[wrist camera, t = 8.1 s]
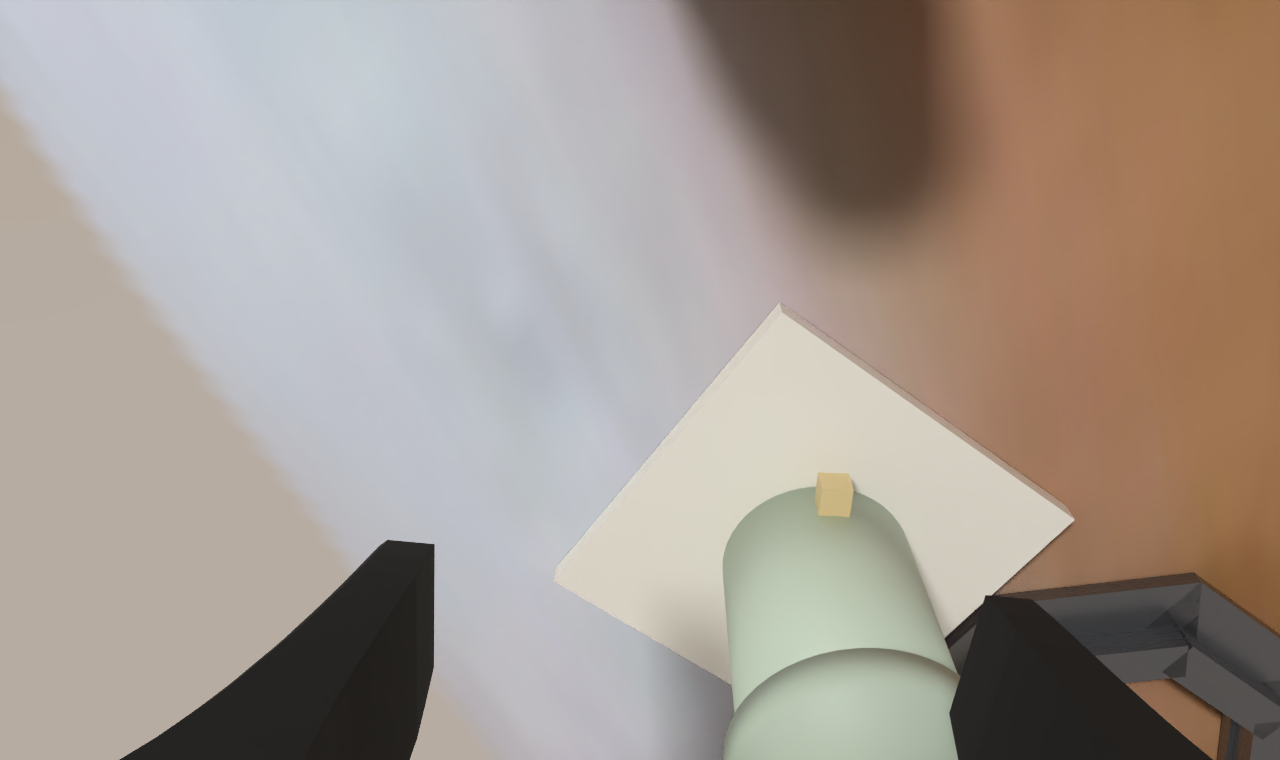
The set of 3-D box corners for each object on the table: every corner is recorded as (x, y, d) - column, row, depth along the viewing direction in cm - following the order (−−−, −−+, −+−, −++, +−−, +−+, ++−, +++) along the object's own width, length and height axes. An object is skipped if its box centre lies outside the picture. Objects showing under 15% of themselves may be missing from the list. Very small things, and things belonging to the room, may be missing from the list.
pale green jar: (903, 664, 26) (980, 911, 19) (703, 656, 26) (714, 899, 19) (940, 465, 23) (1044, 676, 17) (718, 456, 23) (737, 663, 17)
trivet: (1065, 505, 24) (1075, 519, 24) (826, 725, 27) (829, 742, 27) (779, 302, 22) (782, 312, 22) (556, 567, 25) (554, 581, 25)
